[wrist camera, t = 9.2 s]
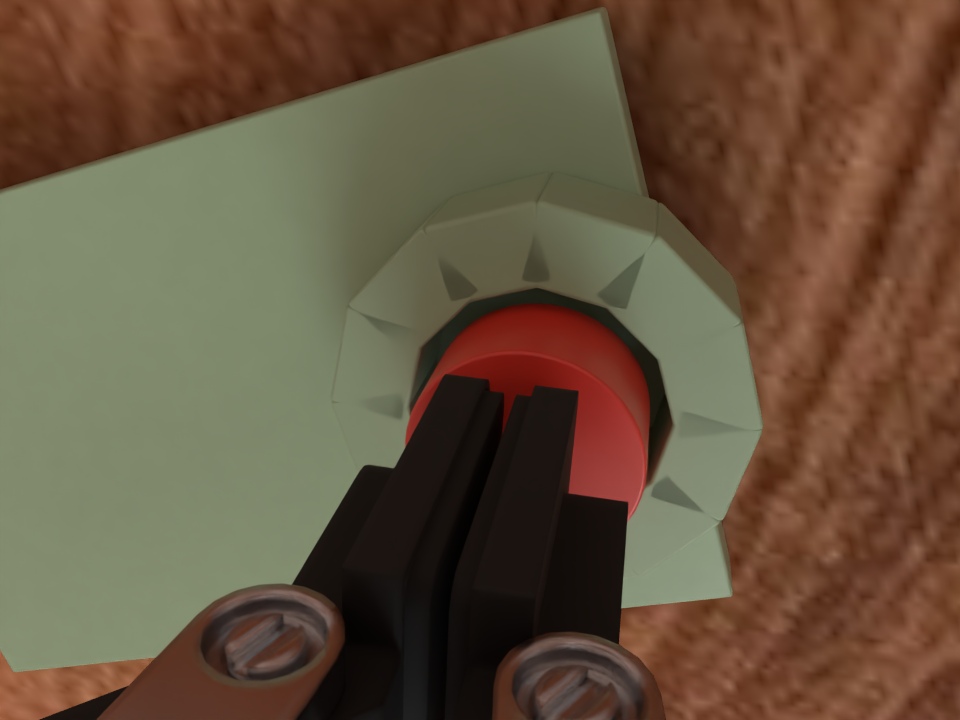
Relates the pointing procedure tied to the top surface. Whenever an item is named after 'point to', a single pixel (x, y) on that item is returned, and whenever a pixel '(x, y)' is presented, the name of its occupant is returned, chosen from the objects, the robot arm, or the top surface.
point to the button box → (332, 332)
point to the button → (568, 365)
